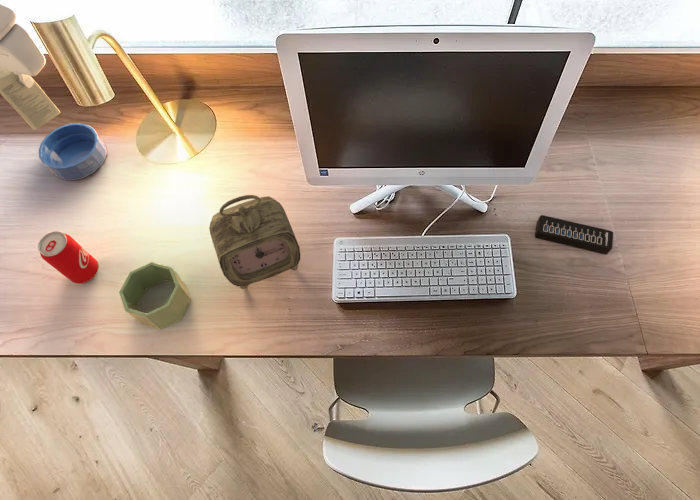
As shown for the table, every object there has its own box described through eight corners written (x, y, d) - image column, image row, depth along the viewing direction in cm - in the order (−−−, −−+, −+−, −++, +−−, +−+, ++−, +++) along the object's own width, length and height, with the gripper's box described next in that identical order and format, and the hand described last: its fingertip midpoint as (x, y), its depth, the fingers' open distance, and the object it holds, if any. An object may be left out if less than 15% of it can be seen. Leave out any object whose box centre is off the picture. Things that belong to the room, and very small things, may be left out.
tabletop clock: (237, 297, 98) (199, 234, 76) (226, 260, 102) (186, 190, 80) (306, 272, 100) (287, 203, 78) (291, 236, 104) (270, 162, 82)
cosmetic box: (51, 102, 101) (13, 53, 90) (62, 113, 99) (24, 64, 88) (22, 120, 99) (-20, 71, 88) (32, 131, 97) (-9, 83, 86)
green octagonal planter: (127, 320, 97) (110, 306, 90) (151, 273, 101) (137, 258, 95) (175, 333, 95) (161, 321, 89) (197, 286, 99) (186, 270, 93)
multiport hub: (537, 220, 104) (540, 214, 102) (608, 236, 101) (613, 231, 99) (534, 237, 102) (537, 231, 100) (607, 255, 99) (612, 249, 97)
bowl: (40, 175, 115) (27, 161, 110) (70, 132, 120) (59, 118, 116) (89, 186, 112) (78, 173, 108) (117, 143, 118) (108, 129, 114)
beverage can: (105, 261, 103) (75, 233, 92) (90, 288, 100) (57, 261, 90) (79, 255, 104) (46, 225, 93) (64, 281, 101) (28, 253, 91)
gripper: (-109, 16, 79) (-45, 83, 91) (-3, 37, 75) (49, 104, 88) (-83, -8, 82) (-24, 60, 94) (21, 11, 78) (68, 79, 90)
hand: (12, 81), depth 91 cm, fingers closed on cosmetic box, 6 cm apart
